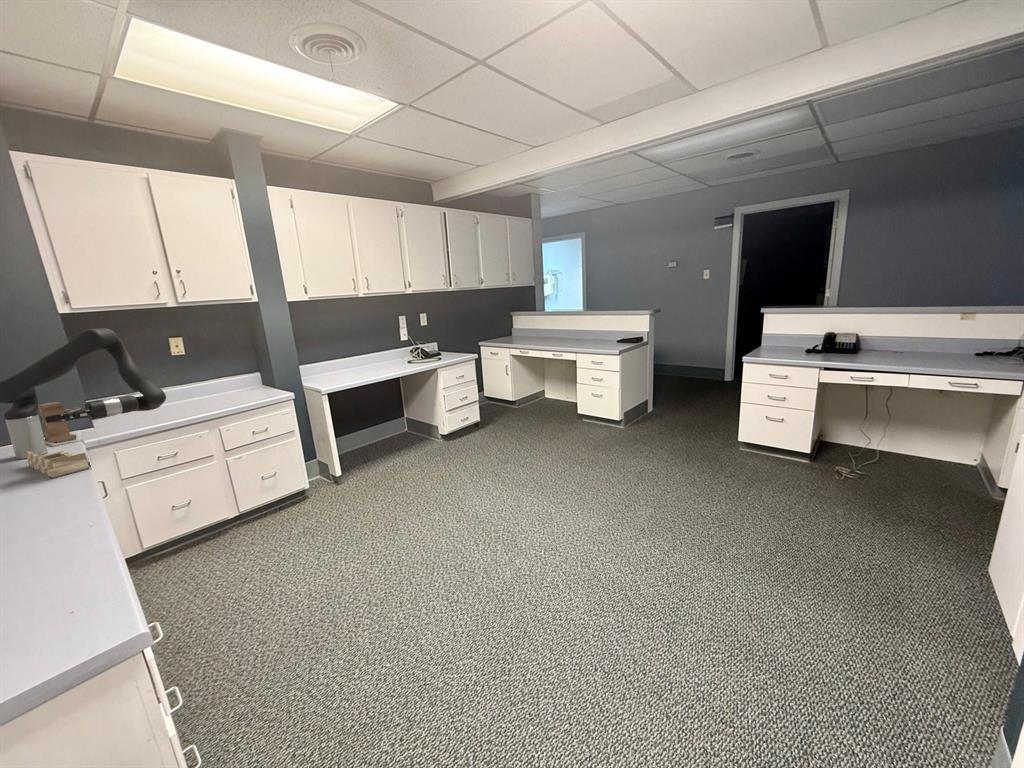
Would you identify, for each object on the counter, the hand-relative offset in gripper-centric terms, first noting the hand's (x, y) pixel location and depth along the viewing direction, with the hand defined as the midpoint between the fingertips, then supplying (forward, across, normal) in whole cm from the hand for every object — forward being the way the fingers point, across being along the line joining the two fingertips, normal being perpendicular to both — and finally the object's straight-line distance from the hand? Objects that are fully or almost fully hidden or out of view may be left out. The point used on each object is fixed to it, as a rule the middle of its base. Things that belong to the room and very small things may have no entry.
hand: (43, 419), depth 154 cm
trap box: (-2, -8, +21) cm, 23 cm away
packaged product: (-16, -61, +22) cm, 66 cm away
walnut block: (-3, 0, +9) cm, 9 cm away
